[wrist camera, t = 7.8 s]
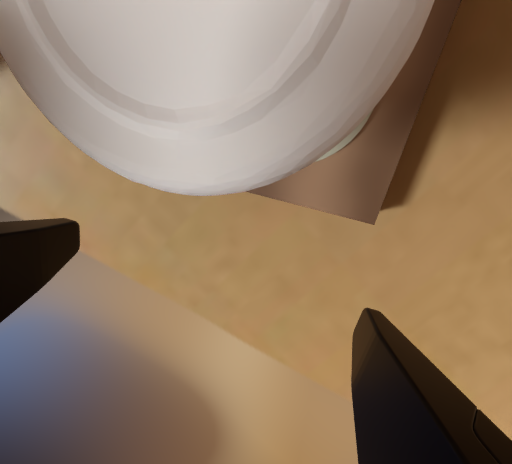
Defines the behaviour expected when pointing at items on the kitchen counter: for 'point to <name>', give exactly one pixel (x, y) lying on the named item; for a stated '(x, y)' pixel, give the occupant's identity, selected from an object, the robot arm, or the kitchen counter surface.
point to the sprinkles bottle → (208, 80)
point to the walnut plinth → (371, 138)
